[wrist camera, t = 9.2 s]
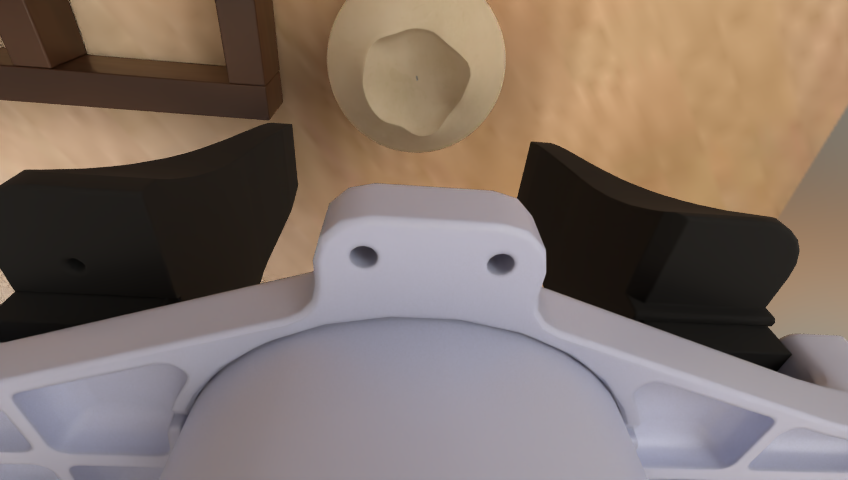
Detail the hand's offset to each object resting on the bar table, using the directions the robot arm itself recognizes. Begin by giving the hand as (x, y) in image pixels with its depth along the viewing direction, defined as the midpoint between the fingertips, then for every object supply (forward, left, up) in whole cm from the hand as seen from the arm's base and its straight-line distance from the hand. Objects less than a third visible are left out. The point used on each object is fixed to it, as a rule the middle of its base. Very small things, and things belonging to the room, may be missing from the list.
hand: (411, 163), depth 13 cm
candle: (+2, 0, -10) cm, 11 cm away
